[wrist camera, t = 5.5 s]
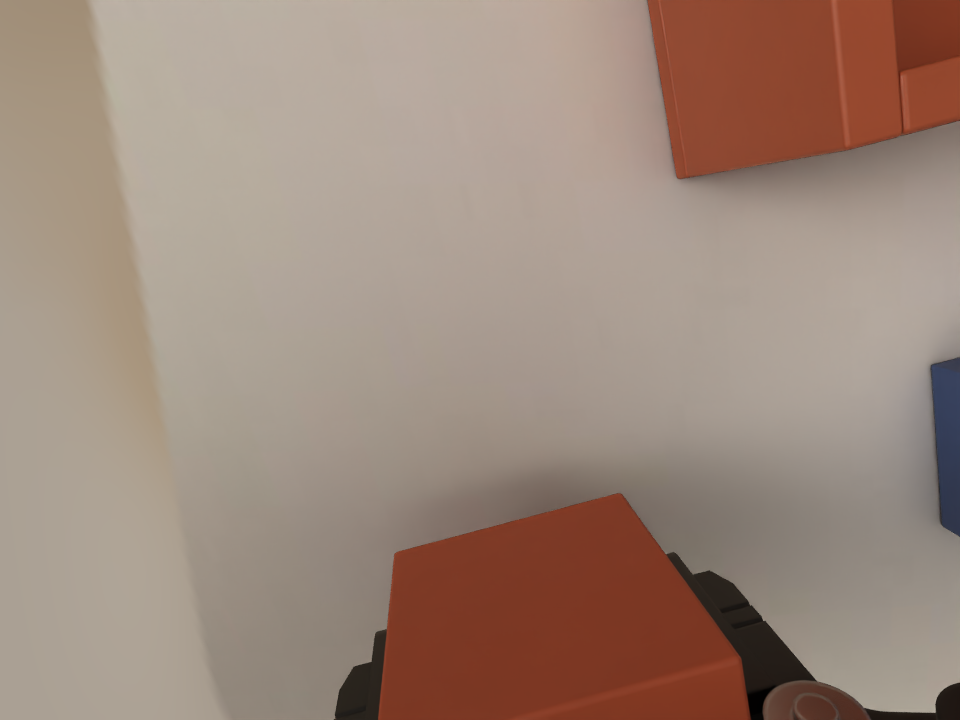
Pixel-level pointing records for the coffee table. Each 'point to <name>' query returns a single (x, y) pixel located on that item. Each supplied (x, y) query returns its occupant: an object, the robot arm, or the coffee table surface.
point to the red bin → (801, 76)
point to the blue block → (948, 439)
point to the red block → (554, 627)
